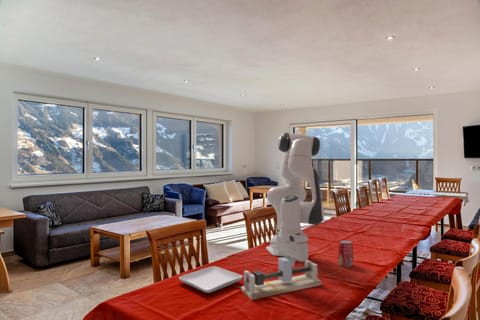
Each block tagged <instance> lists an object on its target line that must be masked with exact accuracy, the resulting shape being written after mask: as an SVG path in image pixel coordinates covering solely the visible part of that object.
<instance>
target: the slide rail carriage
mask: <svg viewBox="0 0 480 320" xmlns="http://www.w3.org/2000/svg"><path fill="white" fill-rule="evenodd" d="M277 259H278V260H277V261H278V262H277V263H278V271H277V272H279V271H282V272H283V276H280V277H278V279H279V280H281V281H282V282H289V281H292V277H293V274H292V269H293V267H292V260H291V259H289V258H287V257H285V256H282V257H279V258H277Z"/></svg>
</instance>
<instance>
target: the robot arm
mask: <svg viewBox="0 0 480 320" xmlns="http://www.w3.org/2000/svg"><path fill="white" fill-rule="evenodd" d="M277 147H278V150H279V151H280V152H283V153H284V157H283V161H282V166H281V167H282V168H281V173H280V174H281V176H282V178H283V179H284V180H285V185H279V186H274V187H272V188H269V189H268V190H267V192H266V200H267V201H268V203H269V204H270V205H271V206H272V207H273V208H274V210H275V213H276V219H277V228H275V234H274V235H273V237H271V238H270V240H269V245H268V246H266V247H265V249H266V251H268V252H269V253H270V254H271V255H272V256H276V257H277V256H280V257H287V258H289V259H291V260H292V268H295V265H296V261H298V262H300V263H302V262H305V261H307V260H308V259H309V245H308V243H307V242H309V236H308V235H306V233H305V232H303V230H302V225H301V224H308V225H313V226H318V225H320V224H321V223H322V222H324V219H325V210H324V206H323V201H322V200H323V199H322V192H321V184H320V177H319V173H318V171H317V169H315V168H314V167H313V165H312V164H313V163H312V159H313V157H315V156H316V155H318V154H319V152H320V150H321V141H320V139H319V138H318V137H317V136H314V135H313V136H311V135H308V134H302V133H291V132H290V133H289V132H283V133H281V134H280V136H279V137H278V140H277ZM302 181H304V182H306V183H308V184H309V185H310V189H311V198H312V199H311V201H306V198H307V190H306V188H305V187H304V185H302Z"/></svg>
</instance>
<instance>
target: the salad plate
mask: <svg viewBox="0 0 480 320" xmlns="http://www.w3.org/2000/svg"><path fill="white" fill-rule="evenodd" d="M178 279H179V281H180V282H182V283H183V284H186V285H188V286H191V287H193V288H195V289H197V290H198V291H201V292H204V293H208V294H209V293H213V292H216V291H218V290H221V289H224V288H226V287H228V286H231V285H233V284H235V283H237V282H239V281H241V279H244V275H243V274H239V273H237V272H234V271H231V270H230V271H229V270H227V269H224V268H222V267H220V266H215V265H213V266H209V267H204V268H201V269H199V270H196V271H193V272H190V273H189V272H188V273H186V274H184V275H181V276H179V277H178Z"/></svg>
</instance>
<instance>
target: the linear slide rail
mask: <svg viewBox="0 0 480 320" xmlns="http://www.w3.org/2000/svg"><path fill="white" fill-rule="evenodd" d="M300 273H304V274H300ZM296 274H300V275H296ZM292 275H295V276H292V281H289V282H282V281H281V280H279V277H280V276H283V272H282V271H279V272H278V271H275V272H269V273H268V272H267V273H263V272H262V271H260V270H253V271H252V273H251V272H250V271H249V270H243V286H240V291H241V292H243V294H245V295H246V296H247V297H248V298H249V299H250V300H252V301H253V300H257V299H261V298H265V297H266V298H267V297H270V296H275V295H279V294H285V293H291V292H294V291H298V290H299V291H300V290H304V289H308V288H312V287H313V288H314V287H318V286H322V285H323V284H322V282H323V281H322V280H321V279H319V278H318V264H316V263H314V262H313V261H310V260H308V259H307V261H304V266H302V267H296V268H295V267H294V268H292ZM275 278H278V279H275ZM269 279H275V280H269ZM265 280H267V281H265Z"/></svg>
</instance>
